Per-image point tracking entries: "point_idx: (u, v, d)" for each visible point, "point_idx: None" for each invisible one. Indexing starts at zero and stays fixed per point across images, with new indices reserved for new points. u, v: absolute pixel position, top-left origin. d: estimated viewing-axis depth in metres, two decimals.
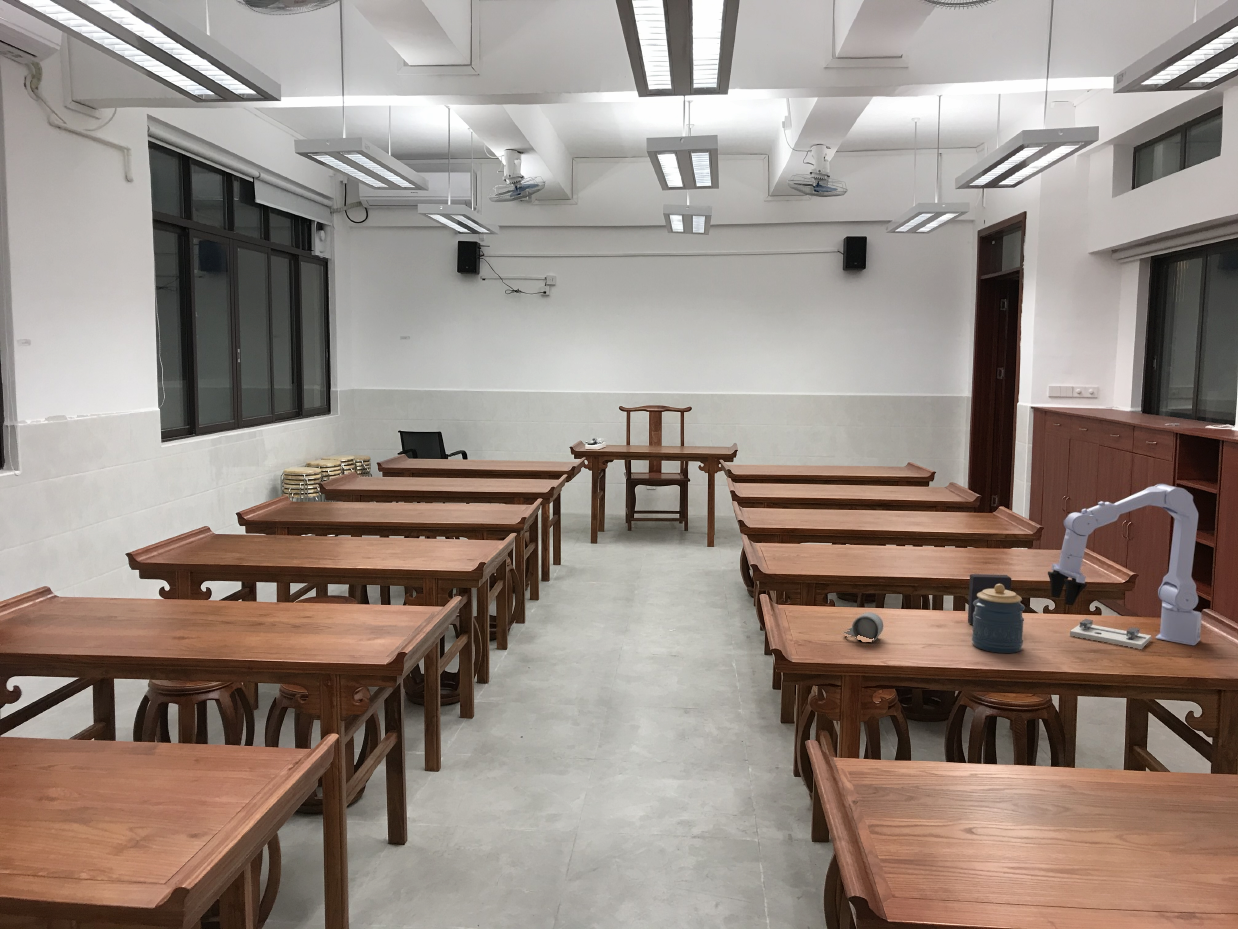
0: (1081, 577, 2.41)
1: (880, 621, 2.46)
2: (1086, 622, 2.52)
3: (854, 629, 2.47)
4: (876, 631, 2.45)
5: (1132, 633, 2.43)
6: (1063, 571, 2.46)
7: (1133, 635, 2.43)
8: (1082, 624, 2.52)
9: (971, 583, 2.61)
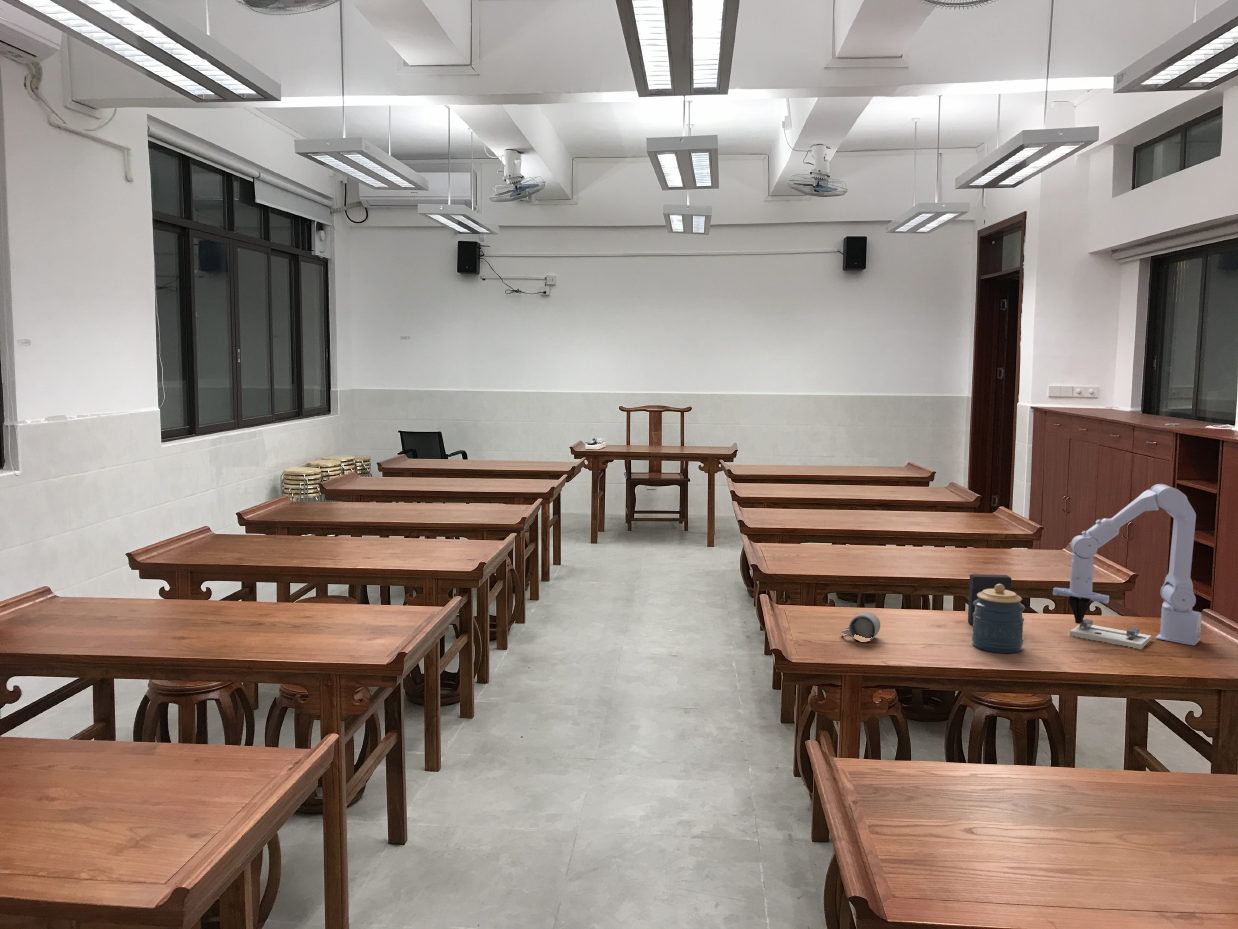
0: (1108, 598, 2.48)
1: (877, 621, 2.46)
2: (1086, 622, 2.52)
3: (851, 629, 2.47)
4: (873, 631, 2.45)
5: (1132, 633, 2.43)
6: (1085, 596, 2.50)
7: (1133, 635, 2.43)
8: (1082, 624, 2.52)
9: (971, 583, 2.61)
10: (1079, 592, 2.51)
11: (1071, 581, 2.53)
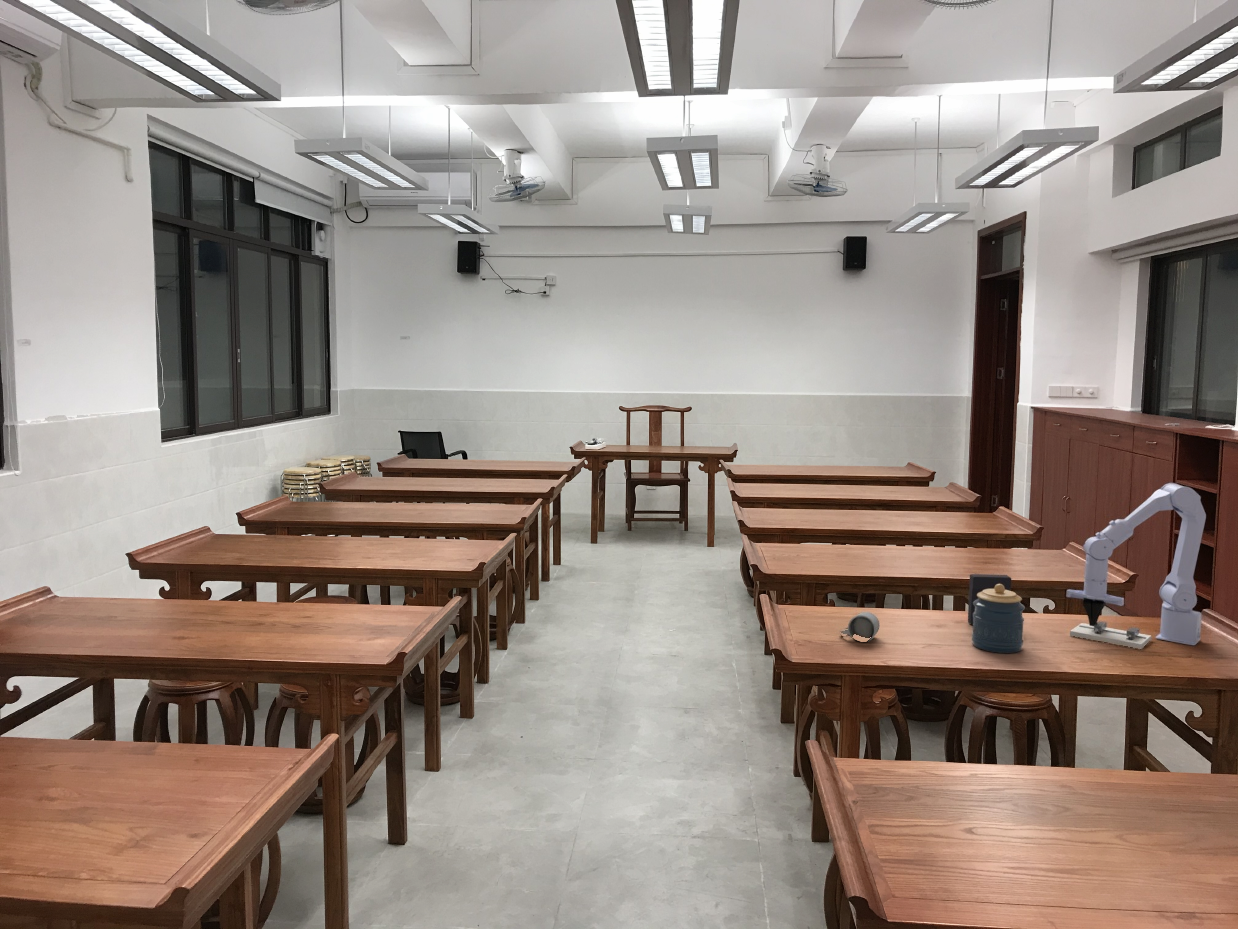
0: (1122, 600, 2.46)
1: (876, 620, 2.46)
2: (1100, 625, 2.49)
3: (850, 628, 2.47)
4: (872, 630, 2.45)
5: (1132, 633, 2.43)
6: (1099, 598, 2.48)
7: (1133, 635, 2.43)
8: (1096, 627, 2.49)
9: (971, 583, 2.61)
10: (1093, 594, 2.49)
11: (1085, 583, 2.51)
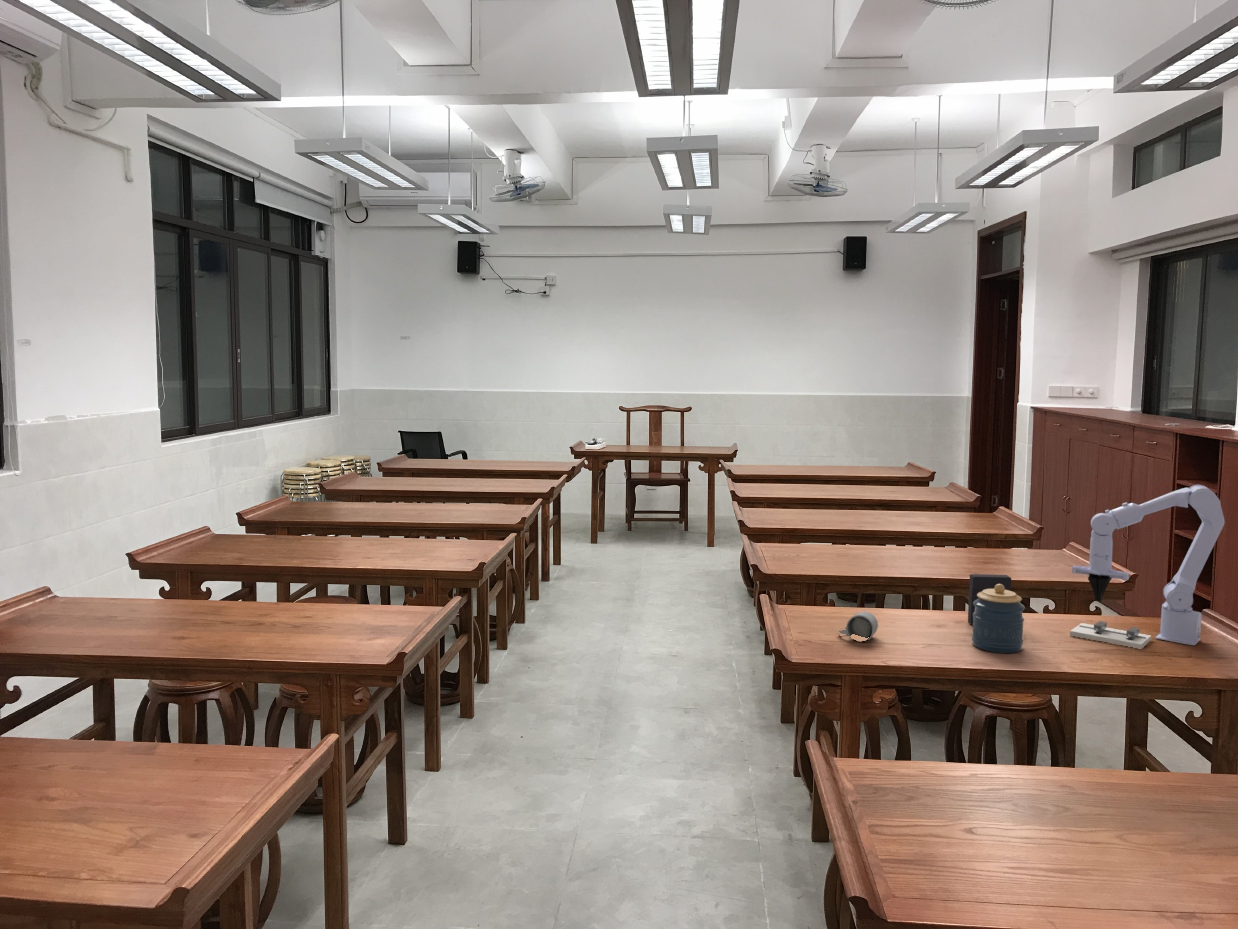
0: (1127, 574, 2.50)
1: (874, 620, 2.47)
2: (1100, 625, 2.49)
3: (849, 628, 2.48)
4: (870, 630, 2.45)
5: (1132, 633, 2.43)
6: (1105, 573, 2.52)
7: (1133, 635, 2.43)
8: (1096, 627, 2.49)
9: (971, 583, 2.61)
10: (1099, 569, 2.52)
11: (1091, 559, 2.54)
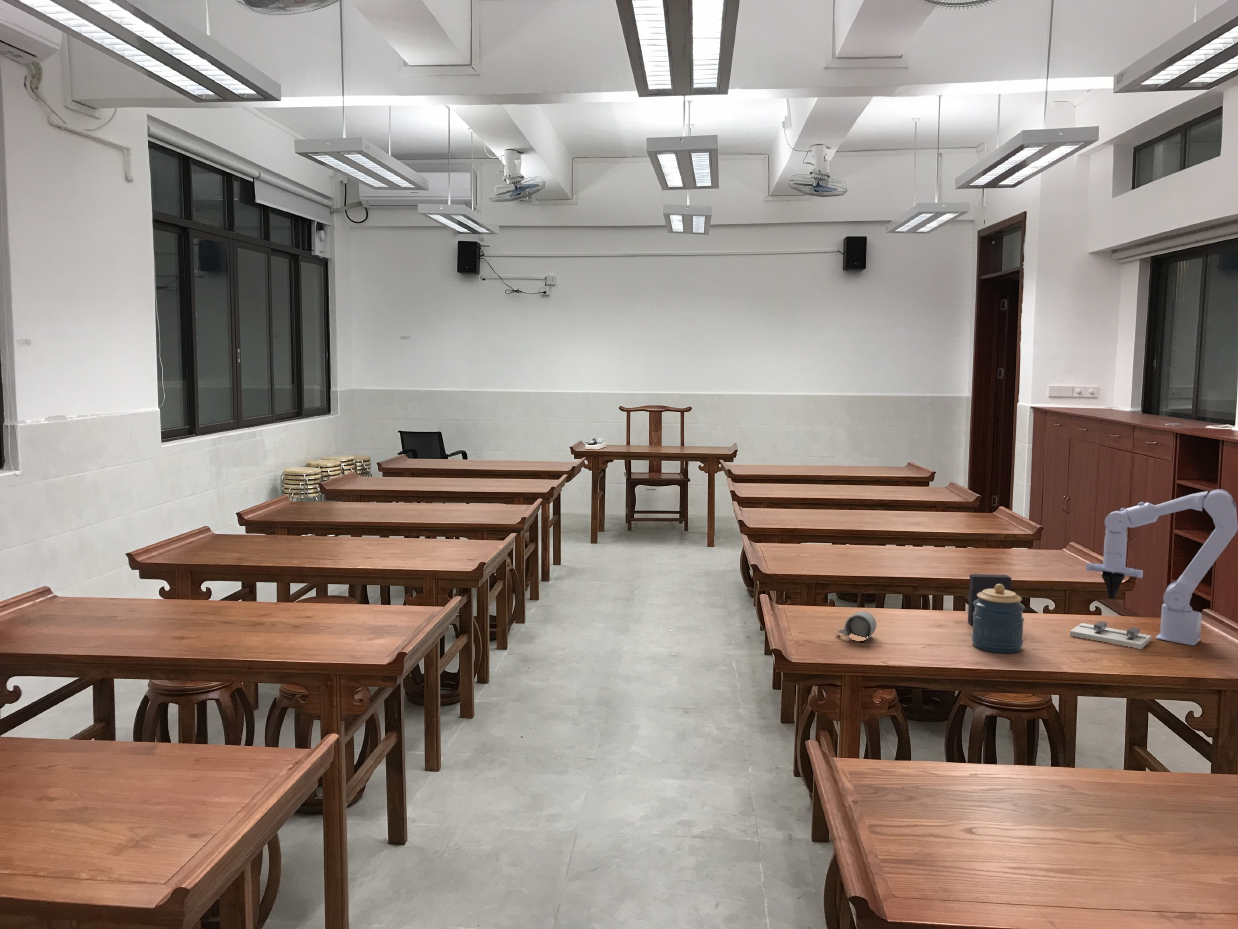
0: (1141, 572, 2.51)
1: (873, 620, 2.47)
2: (1100, 625, 2.49)
3: (847, 628, 2.48)
4: (869, 630, 2.46)
5: (1132, 633, 2.43)
6: (1119, 570, 2.52)
7: (1133, 635, 2.43)
8: (1096, 627, 2.49)
9: (971, 583, 2.61)
10: (1113, 567, 2.53)
11: (1104, 556, 2.55)
